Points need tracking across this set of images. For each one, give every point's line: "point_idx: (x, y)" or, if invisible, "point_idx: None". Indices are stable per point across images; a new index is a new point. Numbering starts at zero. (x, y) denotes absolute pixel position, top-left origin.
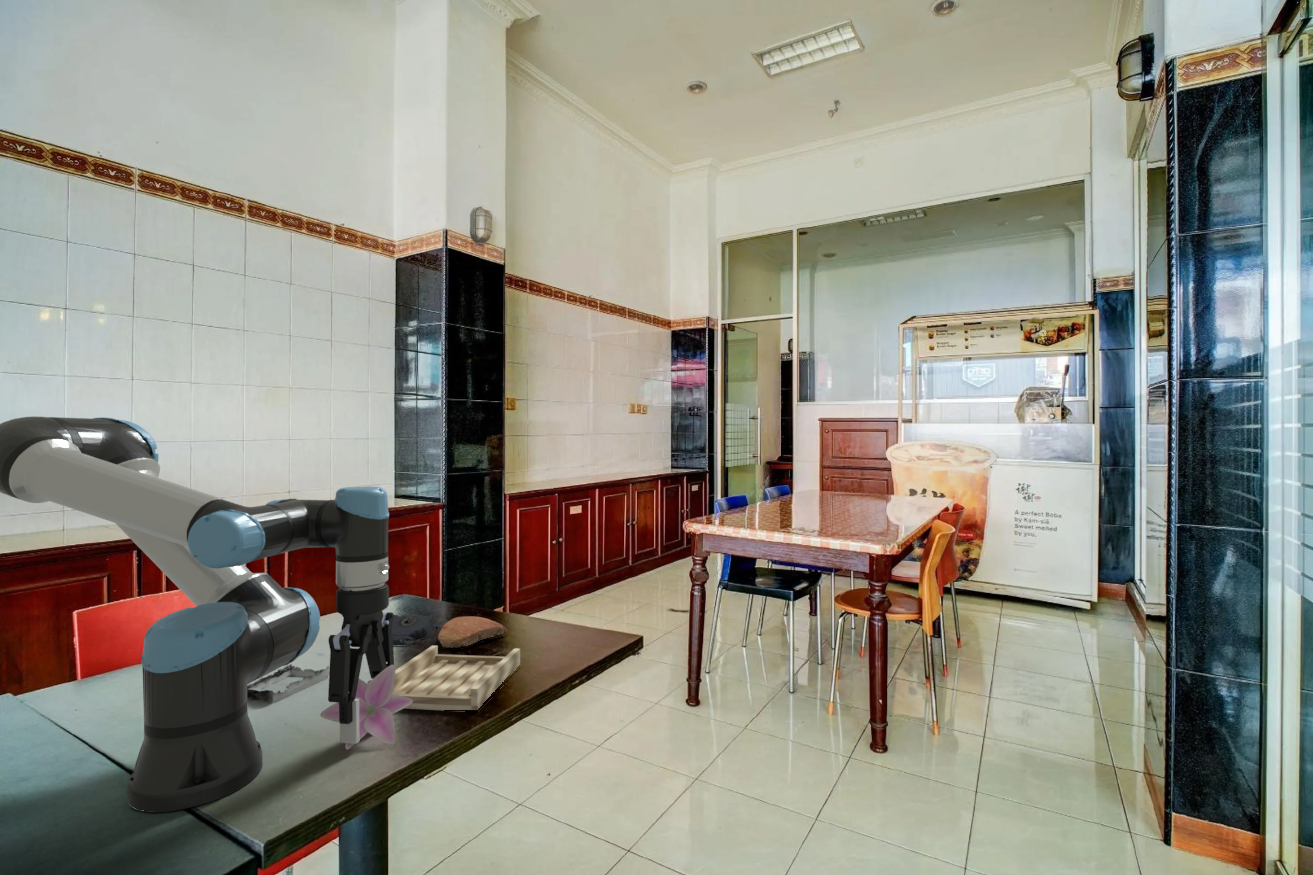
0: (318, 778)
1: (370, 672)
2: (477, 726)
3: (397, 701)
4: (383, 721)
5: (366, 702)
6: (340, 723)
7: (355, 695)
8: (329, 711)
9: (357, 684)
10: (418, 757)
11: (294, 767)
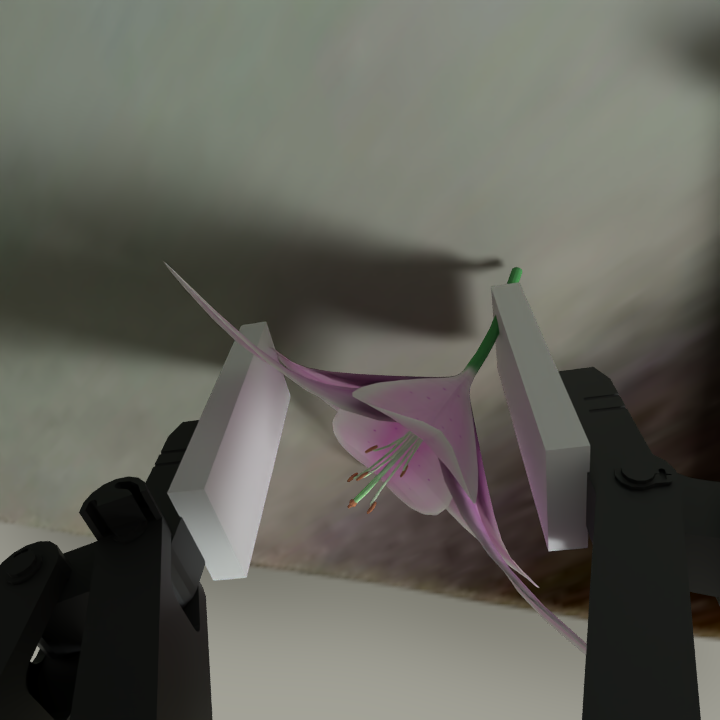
0: (60, 382)
1: (594, 521)
2: (588, 616)
3: (499, 545)
4: (396, 477)
5: (438, 414)
6: (182, 426)
7: (203, 608)
8: (213, 308)
9: (207, 680)
10: (332, 570)
11: (44, 217)
